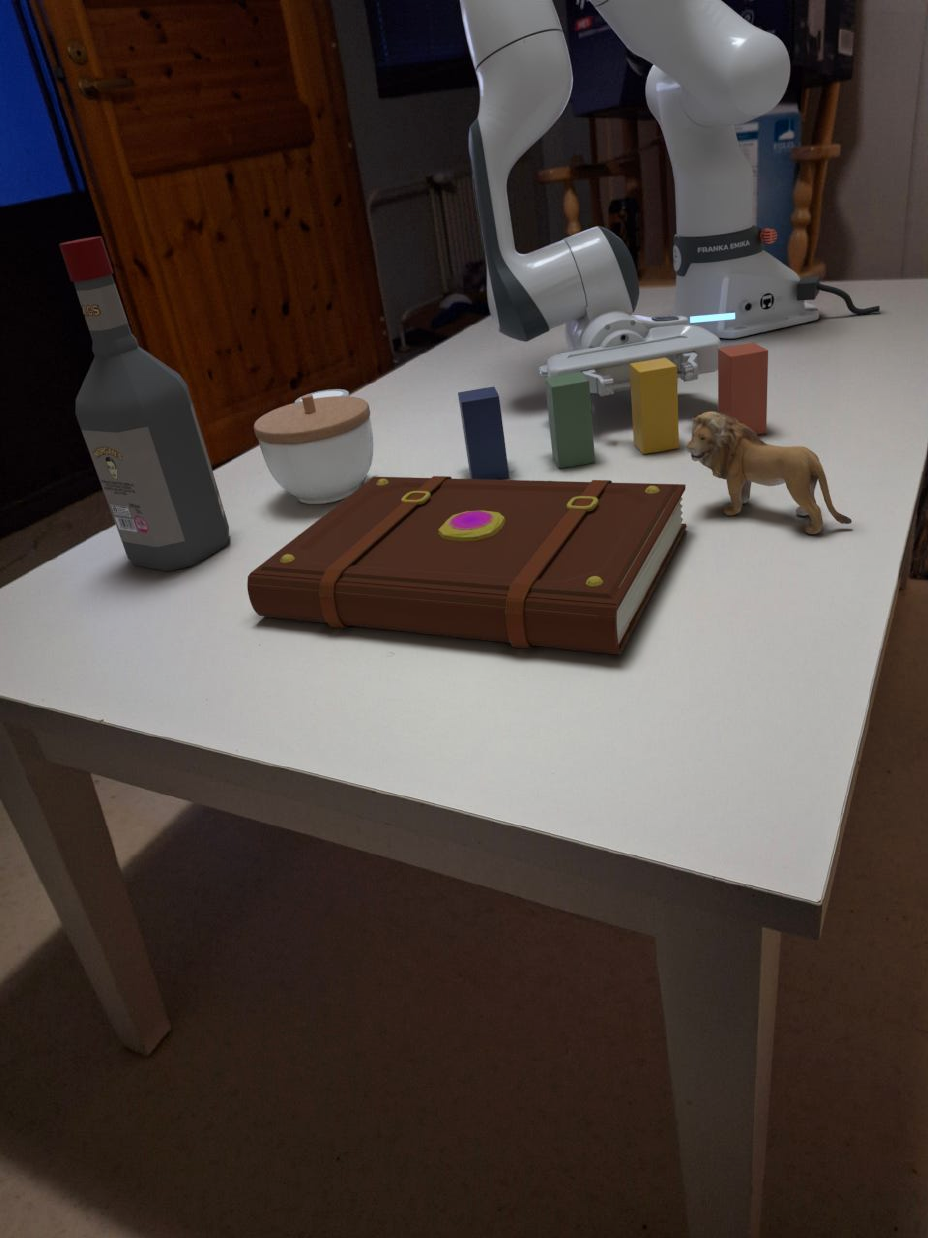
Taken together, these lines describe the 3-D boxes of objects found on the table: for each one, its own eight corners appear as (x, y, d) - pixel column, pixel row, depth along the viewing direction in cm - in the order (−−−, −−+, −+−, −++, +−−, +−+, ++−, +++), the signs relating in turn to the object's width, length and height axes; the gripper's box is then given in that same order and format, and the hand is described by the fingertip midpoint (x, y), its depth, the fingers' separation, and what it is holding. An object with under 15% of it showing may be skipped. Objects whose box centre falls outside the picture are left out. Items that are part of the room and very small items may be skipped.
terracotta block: (752, 422, 101) (754, 341, 97) (766, 433, 98) (768, 350, 93) (718, 428, 101) (717, 348, 97) (730, 439, 98) (730, 356, 93)
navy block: (504, 465, 101) (494, 386, 96) (509, 477, 97) (499, 395, 93) (469, 471, 101) (457, 392, 96) (473, 483, 97) (461, 402, 93)
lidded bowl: (401, 470, 104) (383, 375, 99) (355, 514, 94) (333, 412, 89) (306, 471, 109) (284, 381, 103) (253, 514, 99) (225, 417, 93)
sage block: (587, 450, 101) (581, 371, 97) (595, 462, 98) (589, 380, 93) (552, 456, 101) (544, 377, 97) (559, 468, 97) (551, 386, 93)
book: (382, 514, 93) (373, 468, 91) (687, 527, 80) (686, 475, 78) (254, 623, 76) (239, 571, 74) (616, 665, 63) (612, 602, 60)
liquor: (179, 576, 87) (68, 247, 72) (118, 564, 92) (4, 253, 77) (244, 536, 93) (155, 227, 79) (185, 527, 98) (90, 234, 84)
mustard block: (668, 437, 101) (665, 357, 97) (679, 448, 98) (677, 365, 93) (633, 443, 101) (629, 363, 97) (643, 454, 98) (639, 372, 93)
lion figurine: (678, 514, 83) (676, 419, 79) (705, 492, 86) (704, 401, 82) (839, 540, 74) (846, 435, 70) (863, 516, 77) (871, 414, 73)
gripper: (533, 341, 109) (554, 368, 97) (697, 313, 110) (739, 336, 98) (538, 392, 112) (559, 424, 100) (698, 364, 113) (738, 393, 101)
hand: (649, 380), depth 99 cm, fingers open, 8 cm apart
